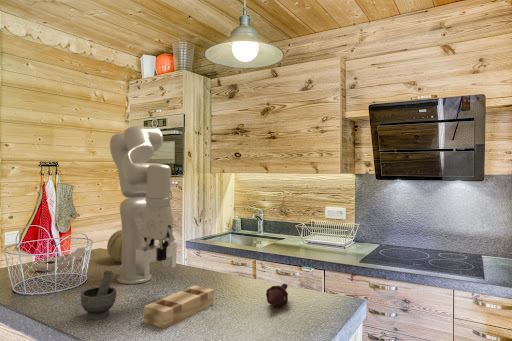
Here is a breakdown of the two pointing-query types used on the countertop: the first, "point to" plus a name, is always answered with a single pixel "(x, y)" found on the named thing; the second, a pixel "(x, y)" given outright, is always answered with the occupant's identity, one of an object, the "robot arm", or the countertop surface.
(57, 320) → the countertop surface
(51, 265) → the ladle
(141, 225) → the robot arm
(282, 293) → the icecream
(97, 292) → the mortar and pestle
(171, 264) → the grey boxy piece
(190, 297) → the brown wooden rectangular block
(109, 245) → the cantaloupe
